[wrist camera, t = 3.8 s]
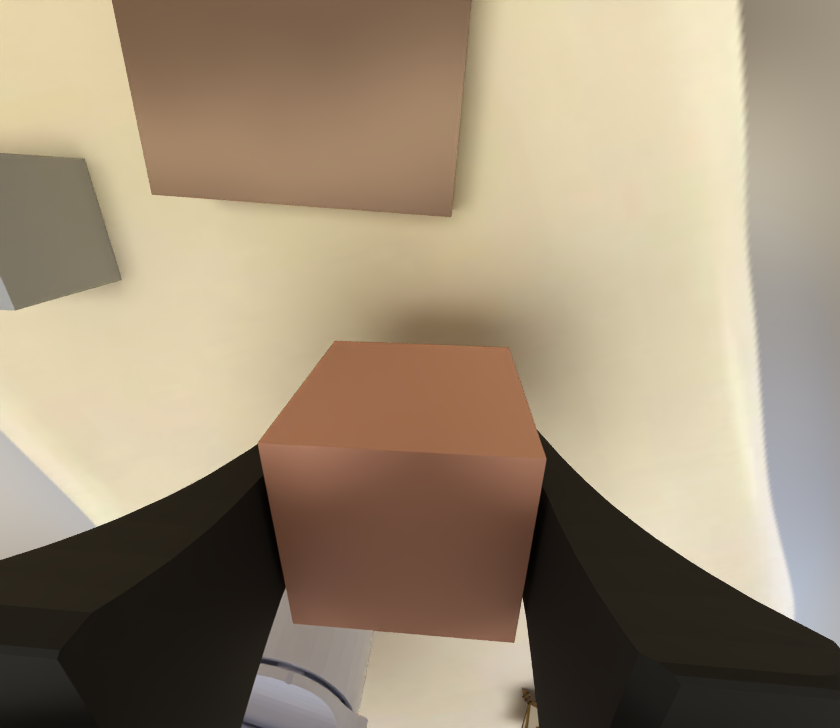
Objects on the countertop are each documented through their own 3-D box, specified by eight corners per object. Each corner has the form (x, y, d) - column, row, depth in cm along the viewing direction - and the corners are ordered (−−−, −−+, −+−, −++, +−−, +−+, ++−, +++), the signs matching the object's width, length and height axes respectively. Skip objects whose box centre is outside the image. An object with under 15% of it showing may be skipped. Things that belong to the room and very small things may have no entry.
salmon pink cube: (493, 485, 13) (514, 642, 9) (346, 476, 14) (292, 623, 9) (508, 347, 11) (546, 459, 7) (335, 340, 11) (257, 442, 7)
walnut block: (451, 209, 16) (451, 216, 13) (216, 191, 17) (151, 194, 13) (483, -140, 12) (496, -277, 8) (168, -151, 13) (52, -286, 9)
